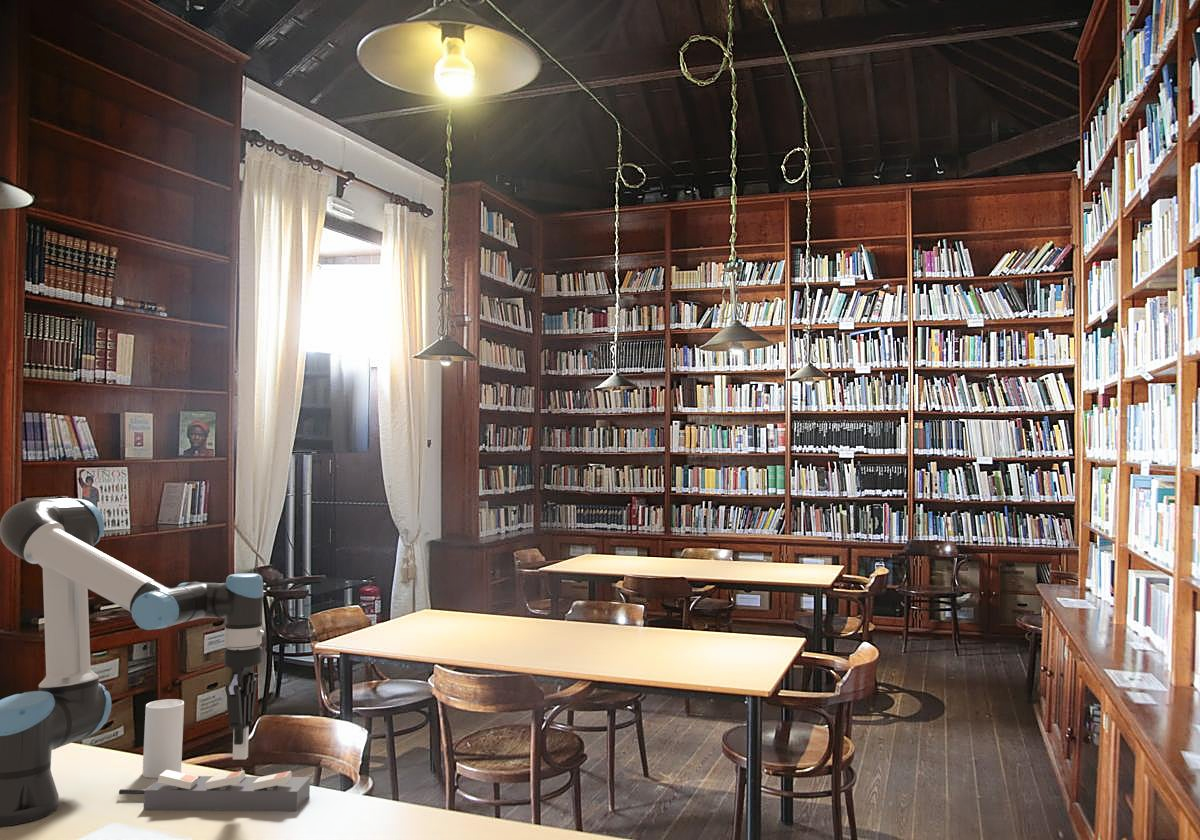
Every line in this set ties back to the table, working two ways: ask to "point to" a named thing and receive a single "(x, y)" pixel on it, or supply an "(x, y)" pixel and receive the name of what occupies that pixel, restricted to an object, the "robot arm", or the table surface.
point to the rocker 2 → (225, 780)
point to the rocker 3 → (272, 780)
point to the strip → (226, 796)
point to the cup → (163, 737)
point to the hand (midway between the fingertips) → (240, 758)
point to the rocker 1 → (178, 779)
